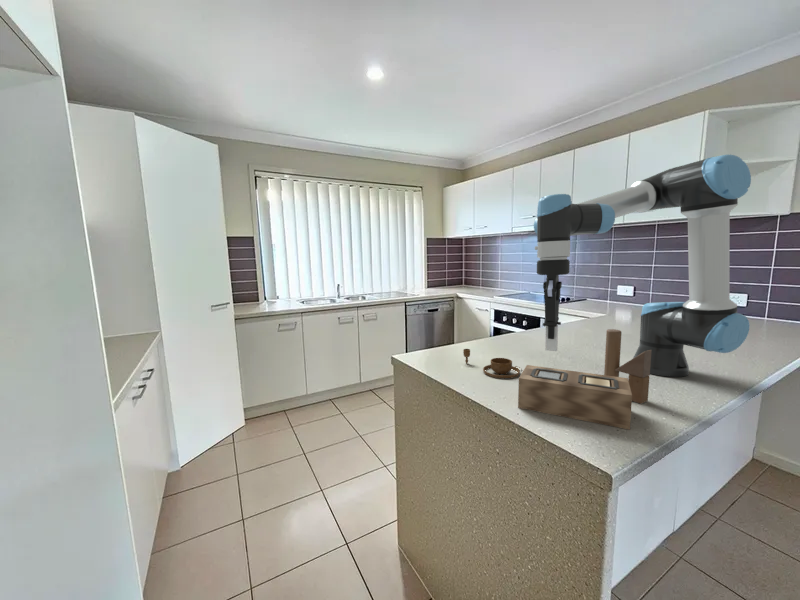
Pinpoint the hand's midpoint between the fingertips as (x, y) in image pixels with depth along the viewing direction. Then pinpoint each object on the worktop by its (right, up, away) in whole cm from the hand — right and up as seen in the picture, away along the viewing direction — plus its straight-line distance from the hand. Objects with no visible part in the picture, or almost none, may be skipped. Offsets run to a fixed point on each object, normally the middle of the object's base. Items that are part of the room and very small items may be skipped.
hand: (551, 349), depth 87 cm
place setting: (-6, -12, +30) cm, 33 cm away
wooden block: (+23, -14, +6) cm, 27 cm away
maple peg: (+9, -15, -4) cm, 18 cm away
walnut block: (+5, -15, -1) cm, 16 cm away
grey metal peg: (0, -14, +2) cm, 14 cm away
